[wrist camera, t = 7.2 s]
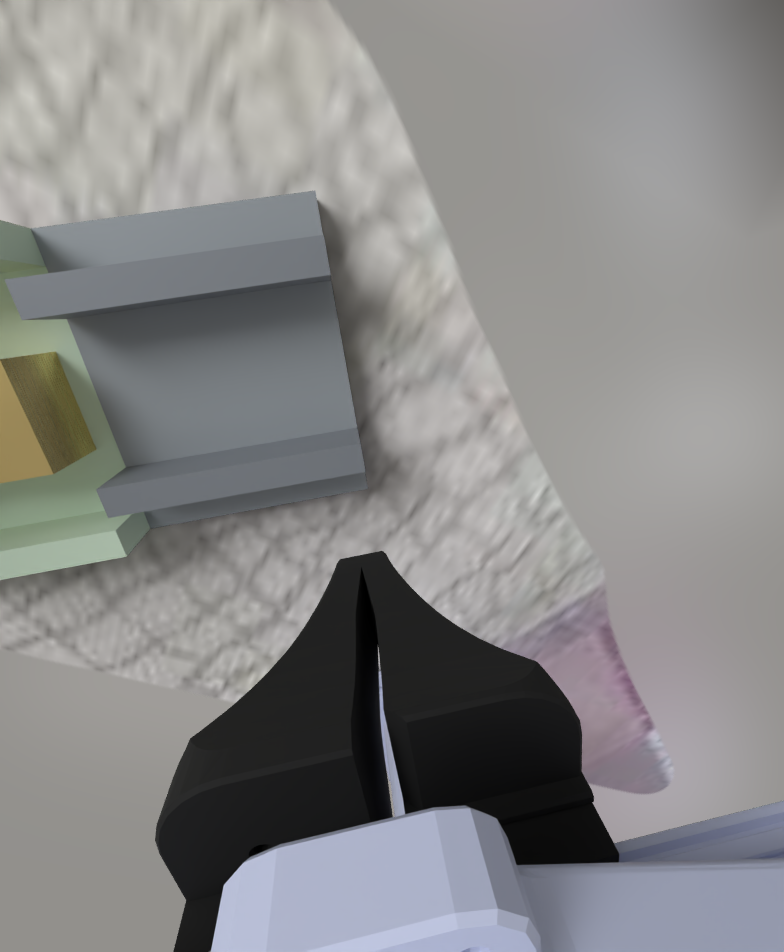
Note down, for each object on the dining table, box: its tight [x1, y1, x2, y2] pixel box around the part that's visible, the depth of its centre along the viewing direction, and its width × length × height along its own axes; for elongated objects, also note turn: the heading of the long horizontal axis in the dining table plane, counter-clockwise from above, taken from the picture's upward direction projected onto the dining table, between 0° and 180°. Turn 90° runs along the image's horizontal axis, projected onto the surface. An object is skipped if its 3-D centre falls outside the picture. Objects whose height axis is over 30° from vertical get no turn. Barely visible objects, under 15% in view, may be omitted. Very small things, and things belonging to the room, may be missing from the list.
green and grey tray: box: [0, 191, 368, 580], centre depth 17 cm, size 12×20×4 cm, turn 98°
